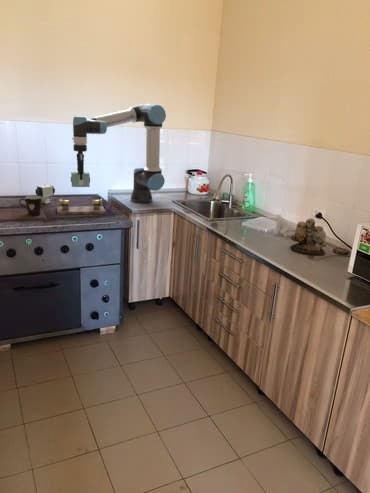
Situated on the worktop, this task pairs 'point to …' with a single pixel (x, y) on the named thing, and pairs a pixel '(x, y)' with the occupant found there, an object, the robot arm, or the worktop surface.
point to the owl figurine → (309, 238)
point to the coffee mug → (33, 205)
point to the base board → (81, 210)
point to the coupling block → (76, 179)
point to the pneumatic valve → (45, 192)
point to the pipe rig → (65, 204)
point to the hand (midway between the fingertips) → (80, 183)
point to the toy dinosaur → (282, 225)
